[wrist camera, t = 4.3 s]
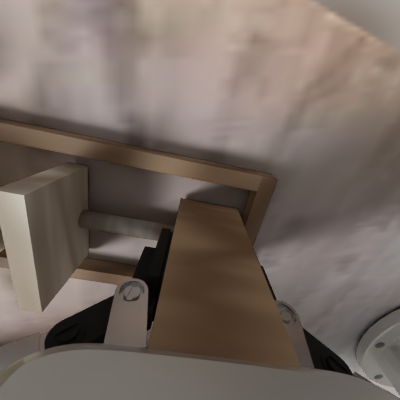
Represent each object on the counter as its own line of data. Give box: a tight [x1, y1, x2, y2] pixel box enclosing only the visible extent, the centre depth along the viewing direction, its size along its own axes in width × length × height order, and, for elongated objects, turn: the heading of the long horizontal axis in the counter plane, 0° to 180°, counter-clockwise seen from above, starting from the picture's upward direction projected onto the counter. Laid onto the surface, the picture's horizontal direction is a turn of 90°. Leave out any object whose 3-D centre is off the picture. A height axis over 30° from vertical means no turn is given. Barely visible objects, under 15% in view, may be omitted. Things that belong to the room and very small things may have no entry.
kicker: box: [0, 162, 301, 368], centre depth 10 cm, size 11×7×10 cm, turn 78°
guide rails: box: [0, 118, 278, 285], centre depth 14 cm, size 18×11×1 cm, turn 78°
